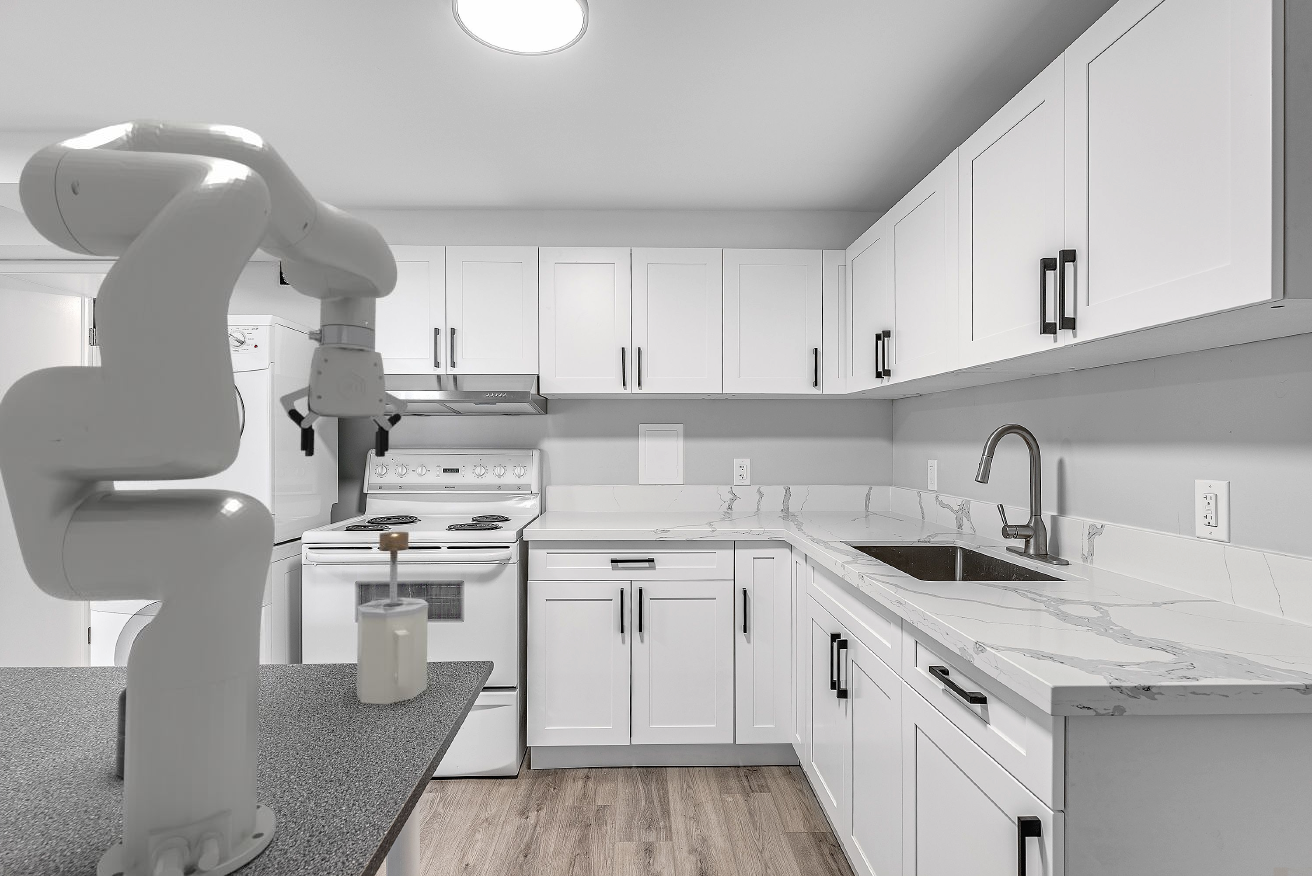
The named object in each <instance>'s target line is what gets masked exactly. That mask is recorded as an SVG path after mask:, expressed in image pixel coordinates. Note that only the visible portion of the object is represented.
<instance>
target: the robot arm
mask: <svg viewBox="0 0 1312 876" xmlns="http://www.w3.org/2000/svg"><path fill="white" fill-rule="evenodd" d="M18 181H19V182H18V184H19V185H18V195H19V200H20V204H21V206H22V210H23V213H24V214H25V216H26V218H27V219H28V221H29V223H30V224H31V226H32V227H33V228H34V229H35V231H36V232H38V234H39V235H41V236H42V237H43V238H44V239H46V240H47V241H49V243H52V244H53V245H55V246H57V247H58V248H61V249H63V250H65V251H68V252H71V253H75V254H80V255H85V256H91V257H92V256H93V257H114V258H116V257H117V258H118V259H117V260H116V261H115V262H114V264H113V265H112V266H111V267H110V269H109V270H108V272H107V273H106V275H105V276H104V279H103V280H102V281H101V285H100V286H99V289H98V291H97V294H96V297H95V301H94V322H95V328H96V333H97V341H98V348H99V349H98V350H99V356H100V366H96V365H95V366H93V365H92V366H91V365H90V366H88V365H87V366H86V365H61V366H60V365H59V366H53V367H45V368H41V369H37V370H34V371H31V372H29V373H27V374H25V375H23V376H22V377H20V378H18V379H17V380H16V381H15V382H13V383H12V385H11V386H10V387H9V388H8V389H7V391H6V393H5V394H4V395H3V397H2V400H1V401H0V474H1V479H2V481H3V482H2V483H3V486H4V490H5V494H6V498H7V502H8V506H9V510H10V515H11V518H12V522H13V526H14V530H15V534H16V537H17V543H18V546H19V550H20V553H21V557H22V560H23V564H24V566H25V569H26V571H27V574H28V575H29V577H30V578H31V581H32V582H33V583H34V584H35V585H36V587H38V588H39V589H40V591H42V592H43V593H44V594H46V595H48V596H50V597H53V598H55V599H58V600H62V601H63V600H64V601H73V602H75V601H76V602H107V601H108V602H110V601H138V600H139V601H140V600H143V601H159V602H161V607H160V608H159V610H158V611H157V613H156V614H155V616H153V618H152V619H151V621H149V623H148V624H147V626H146V627H145V628H144V629H143V631H141V633H140V634H139V635H138V637H137V638H136V640H135V642H134V643H133V645H132V646H131V648H130V649H131V650H130V652H129V654H128V658H127V661H126V673H125V675H126V677H125V678H126V679H125V680H126V681H125V684H126V687H127V688H126V687H125V688H126V724H125V760H124V778H123V798H122V799H123V801H122V804H123V805H122V807H123V808H122V810H123V811H122V836H121V838H120V839H119V840H117V841H116V842H115V843H114V844H113V845H112V846H111V847H110V848H109V849H107V850H106V852H104V853H103V855H102V857H101V858H100V859H99V861H98V862H97V863H98V864H97V866H96V876H227V875H228V874H230V873H232V872H234V871H236V870H238V869H240V868H242V866H244V865H246V864H248V863H249V862H251V861H252V860H254V858H255V857H257V856H258V855H259V854H261V853H262V852H263V850H265V849H266V847H267V846H268V845H269V844H270V843H271V841H272V839H273V838H274V837H275V833H276V831H277V816H276V814H275V811H274V810H272V808H270V807H269V806H268V805H265V804H262V803H260V802H258V764H259V763H258V761H259V760H258V756H259V755H258V754H259V706H260V705H259V704H260V703H259V701H260V663H261V662H260V656H261V653H260V652H261V650H260V649H261V627H262V626H261V625H262V612H263V603H264V602H263V601H264V595H265V590H266V588H265V587H266V583H267V578H268V574H269V568H270V564H271V560H272V556H273V551H274V545H275V527H276V526H275V521H274V518H273V516H272V513H271V512H270V510H269V508H268V507H267V506H266V505H265V504H264V503H263V502H262V501H260V500H259V499H257V498H256V497H254V496H252V495H249V494H247V493H244V492H240V491H234V490H229V489H220V488H219V489H218V488H161V489H116V488H115V483H114V482H149V481H151V482H152V481H153V482H155V481H183V480H195V479H197V480H198V479H204V478H210V477H213V476H216V475H219V474H221V473H222V472H225V471H226V470H228V469H229V468H230V467H231V466H232V465H233V464H234V463H235V462H236V461H237V458H238V455H239V452H240V446H241V425H240V423H241V421H240V414H239V405H238V398H237V391H236V383H235V375H234V370H233V369H234V368H233V360H232V354H231V347H230V335H229V323H228V321H229V320H228V314H229V313H228V312H229V306H230V300H231V299H232V298H231V297H232V294H233V292H234V288H235V286H236V284H237V282H238V280H239V279H240V275H241V274H242V272H243V271H244V269H245V267H246V266H247V264H248V262H249V261H250V260H251V258H252V257H253V256H254V254H255V252H256V251H257V250H258V249H260V250H261V251H262V252H264V253H266V254H267V255H270V256H272V257H274V258H278V259H280V267H281V272H282V275H283V277H284V279H285V281H287V283H288V285H289V286H290V287H291V288H292V289H293V290H295V291H296V292H298V293H299V294H301V295H304V296H307V297H309V298H314V299H318V300H320V309H319V310H320V316H319V319H320V320H319V321H320V322H319V328H318V329H317V330H309V331H308V340H309V341H314V342H316V343H317V344H318V346H317V347H315V348H314V351H313V354H312V359H311V364H310V371H309V379H308V386H305V387H303V388H299V389H298V390H295V391H293V392H292V391H291V392H289V393H287V394H285V395H282V396H281V397H280V398H279V403H280V404H281V406H282V408H283V410H284V411H285V413H286V415H287V417H288V418H289V419H290V420H291V421H292V422H293V423H294V424H296V425H297V426H298V428H300V451H302V452H304V457H312V456H314V455H315V429H314V427H313V424H314V422H316V421H317V420H318V419H319V418H320V417H321V418H340V419H341V418H344V419H345V418H346V419H369V420H371V422H373V423H374V425H375V426H376V427H377V431H375V435H374V436H375V438H374V440H375V441H374V443H375V445H374V446H375V448H374V453H375V455H374V456H375V457H377V458H381V457H382V458H383V457H385V456H386V453H387V452H389V446H390V445H389V444H390V443H389V442H390V436H389V435H390V430H392V428H393V427H394V426H395V425H397V424H398V423H399V422H400V421H401V420H402V417H403V416H404V414H405V412H406V410H407V409H408V405H409V404H408V403H407V402H405V401H403V400H402V399H400V398H398V397H397V396H395V395H392V394H391V393H389V392H387V391H386V381H385V380H386V379H385V370H384V364H383V362H384V361H383V358H382V357H383V356H382V354H381V352H379V351H376V317H377V316H376V314H377V313H376V311H377V303H376V302H377V299H382V298H385V297H388V296H389V295H390V294H392V292H393V291H395V289H396V288H395V287H396V286H397V282H398V267H397V262H396V259H395V257H394V255H393V252H392V249H391V247H389V245H388V243H387V241H386V240H385V238H384V237H383V235H382V234H381V232H379V230H378V229H377V228H376V227H375V226H373V225H372V224H371V223H369V222H367V221H366V220H363V219H362V218H360V217H358V216H356V215H354V214H352V213H350V212H347V211H345V210H343V209H341V208H338V207H336V206H334V205H332V204H330V203H328V202H326V201H323V200H321V199H318V198H315V197H313V195H312V194H311V193H310V191H309V190H308V189H307V188H306V186H305V185H304V184H303V183H302V182H301V180H300V179H299V178H298V176H296V174H295V173H294V171H293V170H292V169H291V168H290V166H289V165H288V163H287V162H286V161H285V160H284V159H283V158H282V156H281V155H280V154H279V152H278V151H277V150H276V149H275V148H274V147H273V145H271V144H270V142H269V141H268V140H266V139H265V138H264V137H263V136H261V135H260V134H258V133H256V132H254V131H252V130H250V129H247V128H245V127H241V126H236V125H230V124H223V123H213V122H211V123H210V122H209V123H208V122H195V121H178V120H166V119H154V118H153V119H152V118H151V119H150V118H148V119H147V118H142V119H141V118H139V119H130V120H125V121H121V122H117V123H114V124H110V125H107V126H104V127H100V128H97V129H95V130H91V131H88V132H85V133H83V134H80V135H76V136H73V137H70V138H67V139H64V140H60V141H57V142H55V143H52V144H49V145H46V146H43V148H40V149H39V150H38V151H36V152H35V153H34V154H33V155H32V156H31V157H30V158H29V159H28V160H27V162H26V163H25V165H24V167H23V169H22V170H21V174H20V177H19V180H18ZM306 397H307V411H308V413H307V414H306V415H305V416H304V415H303V414H302V413H300V412H299V411H298V410H297V409H296V406H295V404H294V403H295V402H296V401H298V400H302V399H303V398H306ZM387 404H388V405H390V406H391V407H394V411H393V413H392V415H390V416H389V417H388V418H387V417H385V415H384V414H385V412H386V407H387Z"/></svg>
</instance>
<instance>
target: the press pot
mask: <svg viewBox="0 0 1312 876" xmlns="http://www.w3.org/2000/svg"><path fill="white" fill-rule="evenodd" d="M428 610H429V602H427V601H426V600H424V599H423V598H411V597H397V607H390V598H387V599H386V598H385V599H379V600H371V601H369V602H366V603H363V604H361V605H358V606H357V608H356V613H357V645H356V646H357V647H356V650H357V651H356V652H357V655H356V658H357V659H356V661H357V663H356V696H357V698H358V699H359V701H360V704H361V703H363V704H372V705H373V704H375V705H391V704H395V703H399V701H400V702H403V701H404V700H405V701H408V699H410V700H413V699H415V698H417V697H418V696H419V694H420V693H421V694H423V693H424V692H425V691H424V690H426V689H428V617H429V616H428V613H429V612H428ZM423 691H424V692H423ZM426 691H427V690H426ZM422 692H423V693H422ZM421 694H420V695H421ZM417 695H418V696H417ZM414 697H415V698H414ZM412 698H413V699H412ZM405 701H404V702H405ZM394 702H395V703H394Z"/></svg>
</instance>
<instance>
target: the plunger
mask: <svg viewBox="0 0 1312 876" xmlns="http://www.w3.org/2000/svg"><path fill="white" fill-rule="evenodd" d="M409 537H410V536H409V532H408V531H387V532H386V531H385V532H381V533H379V542H378V543H379V549H378V550H379V551H380V552H390V553H389V557H390V559H389V564H390V565H389V599H390V607H397V598H398V552H400V551H406V550H409Z"/></svg>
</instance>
